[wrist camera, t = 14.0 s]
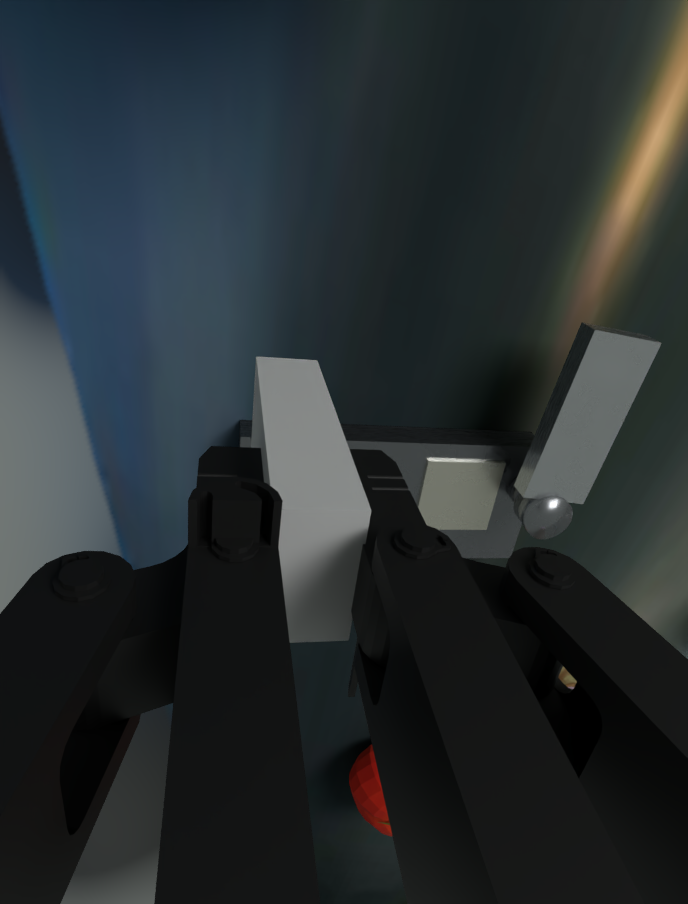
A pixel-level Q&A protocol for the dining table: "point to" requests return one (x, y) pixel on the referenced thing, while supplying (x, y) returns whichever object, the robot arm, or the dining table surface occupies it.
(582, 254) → the dining table surface
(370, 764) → the tomato
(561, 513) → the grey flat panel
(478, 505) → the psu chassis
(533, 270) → the dining table surface
